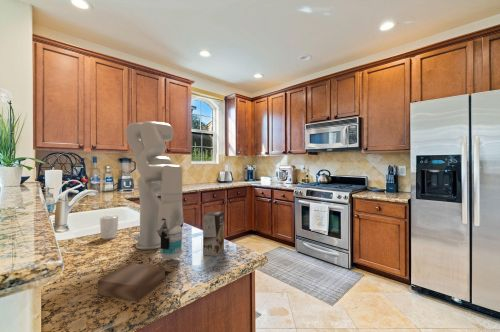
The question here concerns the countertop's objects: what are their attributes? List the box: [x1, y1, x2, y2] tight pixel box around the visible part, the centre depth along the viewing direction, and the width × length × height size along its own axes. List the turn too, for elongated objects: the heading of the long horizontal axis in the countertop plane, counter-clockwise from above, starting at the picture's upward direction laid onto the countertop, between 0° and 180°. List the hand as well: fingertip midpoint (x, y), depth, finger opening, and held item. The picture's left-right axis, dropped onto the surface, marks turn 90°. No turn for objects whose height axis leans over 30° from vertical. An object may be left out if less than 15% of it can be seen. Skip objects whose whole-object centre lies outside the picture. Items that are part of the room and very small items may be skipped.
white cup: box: [99, 214, 119, 240], centre depth 118 cm, size 8×8×10 cm
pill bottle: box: [160, 222, 183, 260], centre depth 90 cm, size 8×7×14 cm
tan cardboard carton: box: [97, 262, 175, 302], centre depth 74 cm, size 13×20×5 cm, turn 166°
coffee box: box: [202, 210, 225, 257], centre depth 99 cm, size 9×6×16 cm
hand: (171, 244), depth 90 cm, fingers closed on pill bottle, 7 cm apart
